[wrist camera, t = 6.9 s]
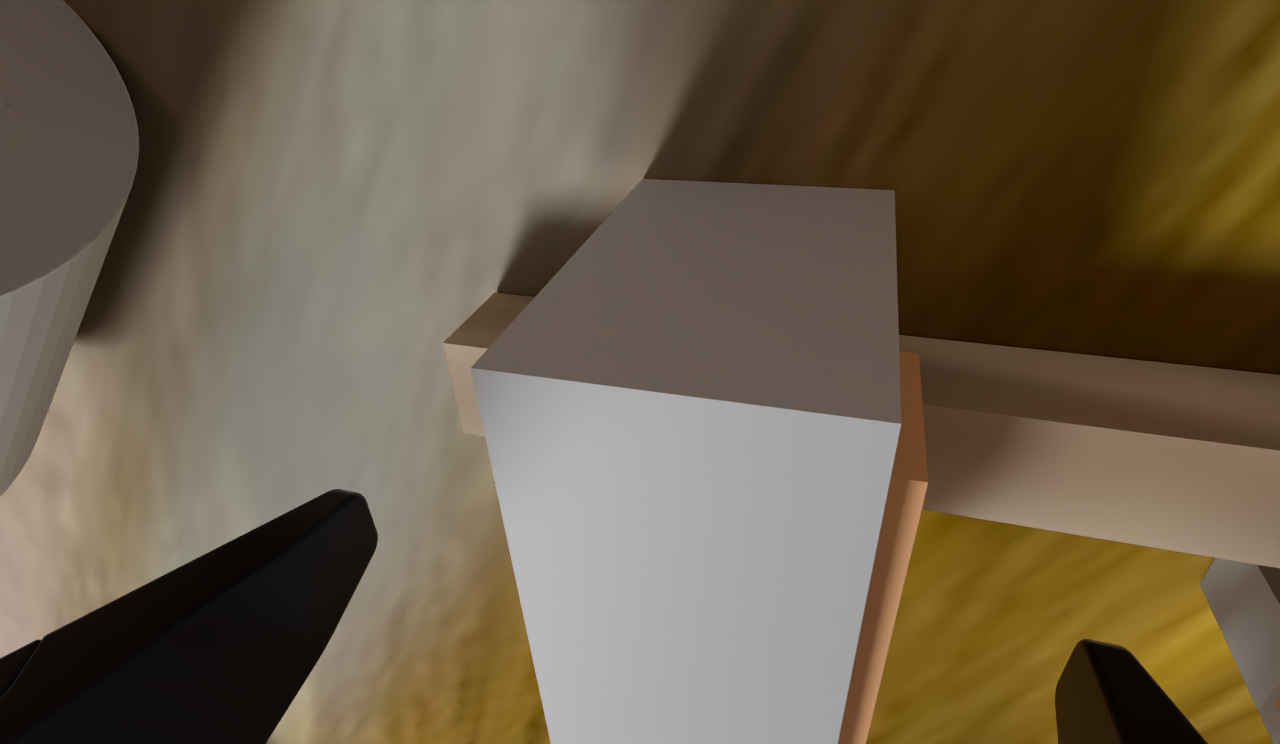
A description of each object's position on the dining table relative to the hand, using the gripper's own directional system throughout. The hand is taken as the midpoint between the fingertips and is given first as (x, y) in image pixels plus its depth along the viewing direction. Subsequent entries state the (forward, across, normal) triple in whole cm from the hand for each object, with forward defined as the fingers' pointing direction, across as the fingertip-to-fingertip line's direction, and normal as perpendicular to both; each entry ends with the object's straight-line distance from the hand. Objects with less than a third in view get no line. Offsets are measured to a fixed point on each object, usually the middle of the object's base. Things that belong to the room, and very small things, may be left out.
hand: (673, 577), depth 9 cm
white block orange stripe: (+5, 0, 0) cm, 5 cm away
